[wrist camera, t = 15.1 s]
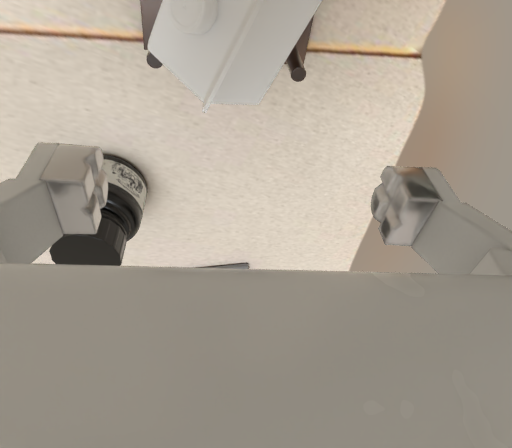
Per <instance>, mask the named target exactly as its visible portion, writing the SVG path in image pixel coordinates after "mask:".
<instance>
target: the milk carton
mask: <svg viewBox="0 0 512 448" xmlns="http://www.w3.org/2000/svg"><path fill="white" fill-rule="evenodd" d="M321 2H322V0H163V1H162V4H161V6H160V9H159V12H158V15H157V18H156V20H155V23H154V26H153V29H152V32H151V35H150V38H149V41H148V50H149V51H150V52H151V53H152V54H153V55H154V56H155V57H156V58H157V59H158V60H159V61H160V62H161V63H162V64H163V65H164V66H165V67H166V68H167V69H168V70H170V71H171V72H172V73H173V74H174V75H175V76H176V77H177V78H178V79H179V80H180V81H181V82H182V83H183V84H184V85H185V86H186V87H187V88H188V89H189V90H190V91H192V92H193V93H194V94H195V95H196V96H197V97H198V98H199V99H200V100H201V101H202V102H203V110H202V112H203V113H206V112H207V110H208V108H209V106H210V105H211V104H243V105H258V104H259V103H260V101H261V100H262V98H263V97H264V95H265V94H266V92H267V90H268V89H269V87H270V85H271V84H272V82H273V81H274V79H275V77H276V76H277V74H278V72H279V71H280V69H281V67H282V66H283V64H284V62H285V61H286V59H287V58H288V56H289V54H290V53H291V51H292V49H293V48H294V46H295V44H296V43H297V41H298V40H299V38H300V36H301V35H302V33H303V31H304V30H305V28H306V26H307V25H308V23H309V22H310V20H311V18H312V17H313V15H314V13H315V12H316V10H317V8H318V7H319V5H320V3H321Z"/></svg>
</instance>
